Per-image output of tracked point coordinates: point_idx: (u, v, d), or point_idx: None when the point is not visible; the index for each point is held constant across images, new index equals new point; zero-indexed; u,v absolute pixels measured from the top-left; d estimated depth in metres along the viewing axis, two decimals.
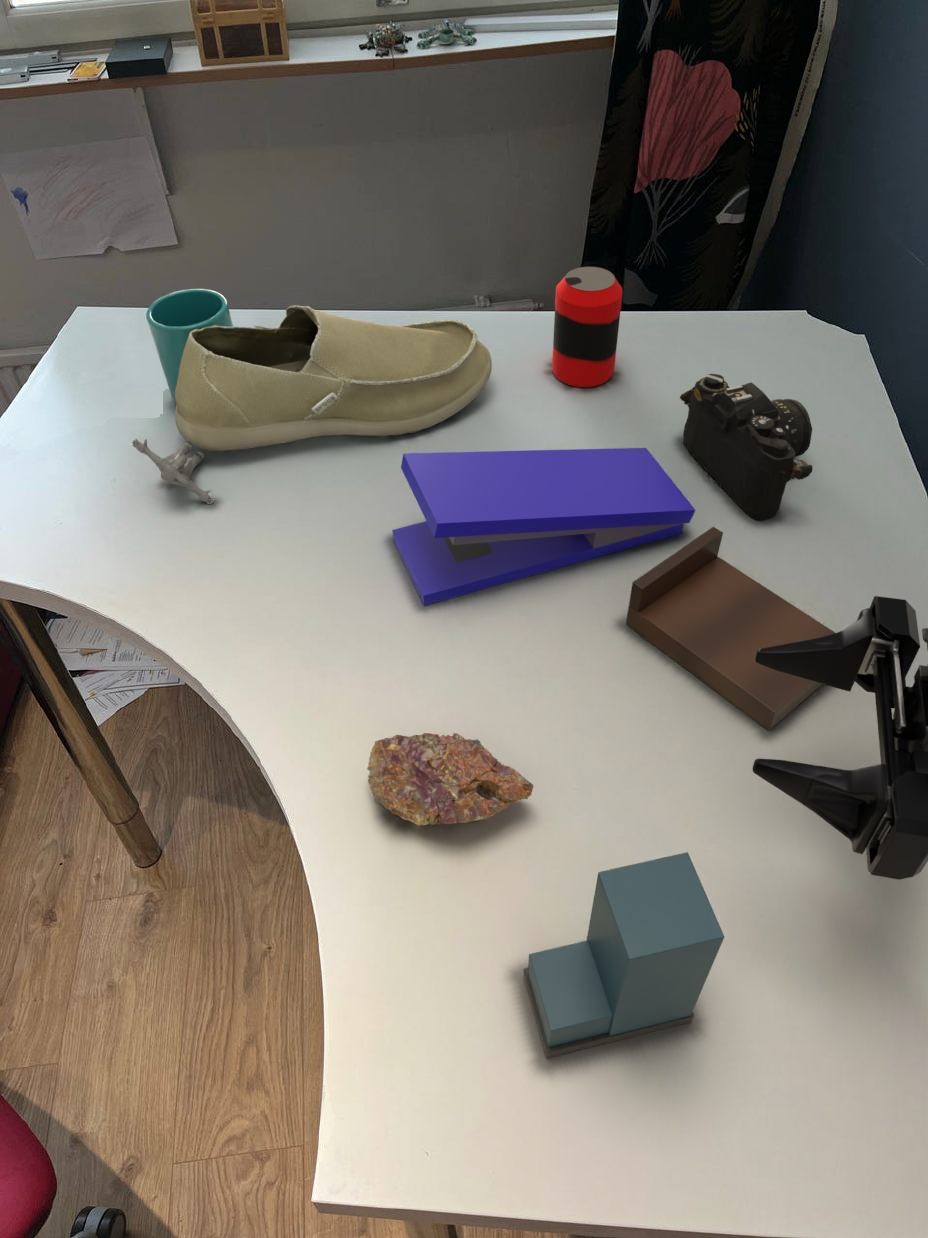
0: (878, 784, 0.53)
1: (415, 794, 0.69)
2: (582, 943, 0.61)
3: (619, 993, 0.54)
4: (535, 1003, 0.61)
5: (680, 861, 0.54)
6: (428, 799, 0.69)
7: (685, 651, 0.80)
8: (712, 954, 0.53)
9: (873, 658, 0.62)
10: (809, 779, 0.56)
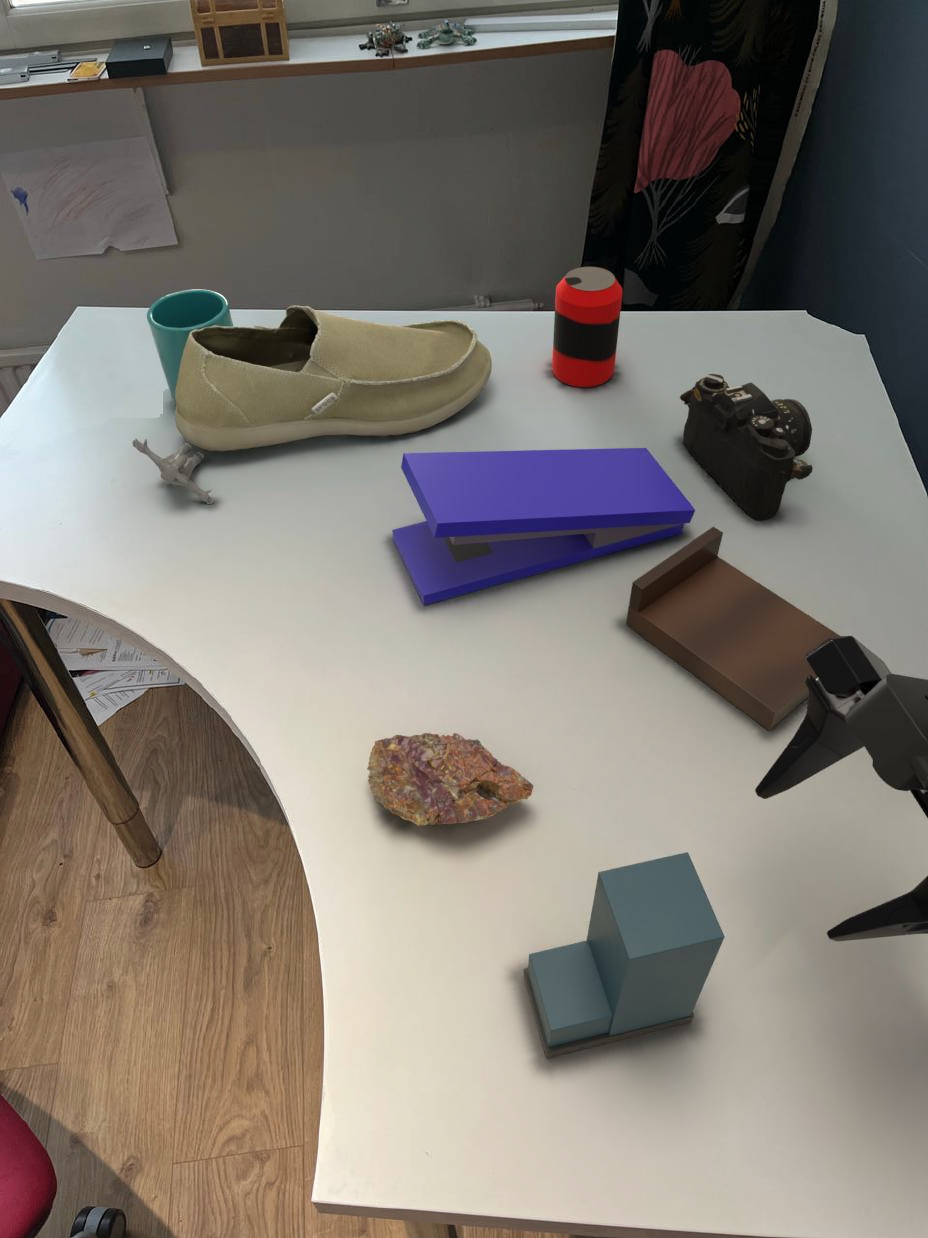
0: None
1: (415, 794, 0.69)
2: (582, 942, 0.61)
3: (619, 993, 0.54)
4: (535, 1003, 0.61)
5: (680, 861, 0.54)
6: (428, 799, 0.69)
7: (685, 651, 0.80)
8: (712, 954, 0.53)
9: None
10: (884, 926, 0.48)
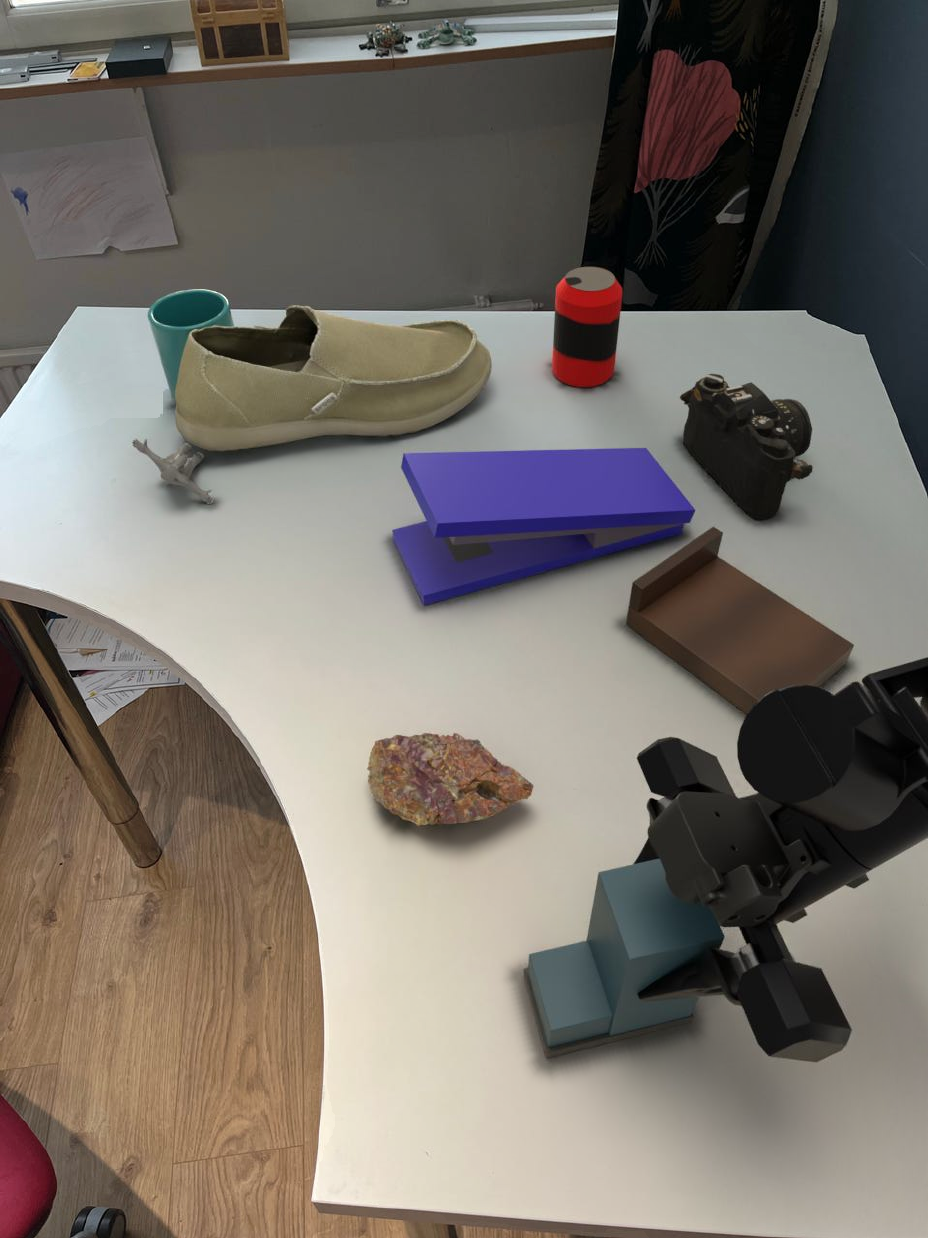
0: (716, 975, 0.49)
1: (415, 794, 0.69)
2: (582, 943, 0.61)
3: (619, 993, 0.54)
4: (535, 1003, 0.61)
5: None
6: (428, 799, 0.69)
7: (685, 651, 0.80)
8: None
9: None
10: (680, 990, 0.52)
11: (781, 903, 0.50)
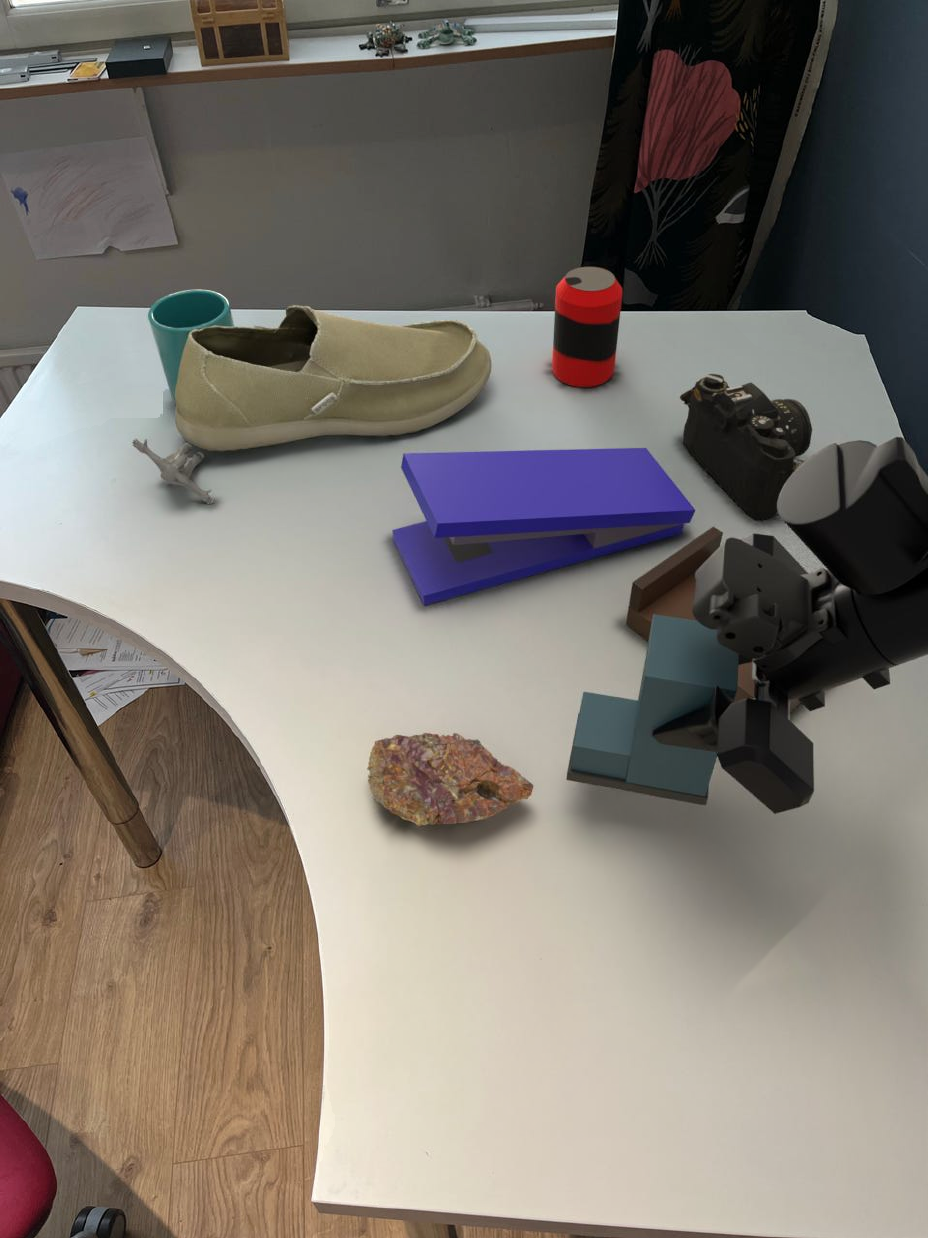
0: (712, 706, 0.55)
1: (415, 794, 0.69)
2: (632, 700, 0.67)
3: (636, 723, 0.61)
4: None
5: None
6: (428, 799, 0.69)
7: None
8: None
9: None
10: (684, 728, 0.58)
11: (794, 669, 0.54)
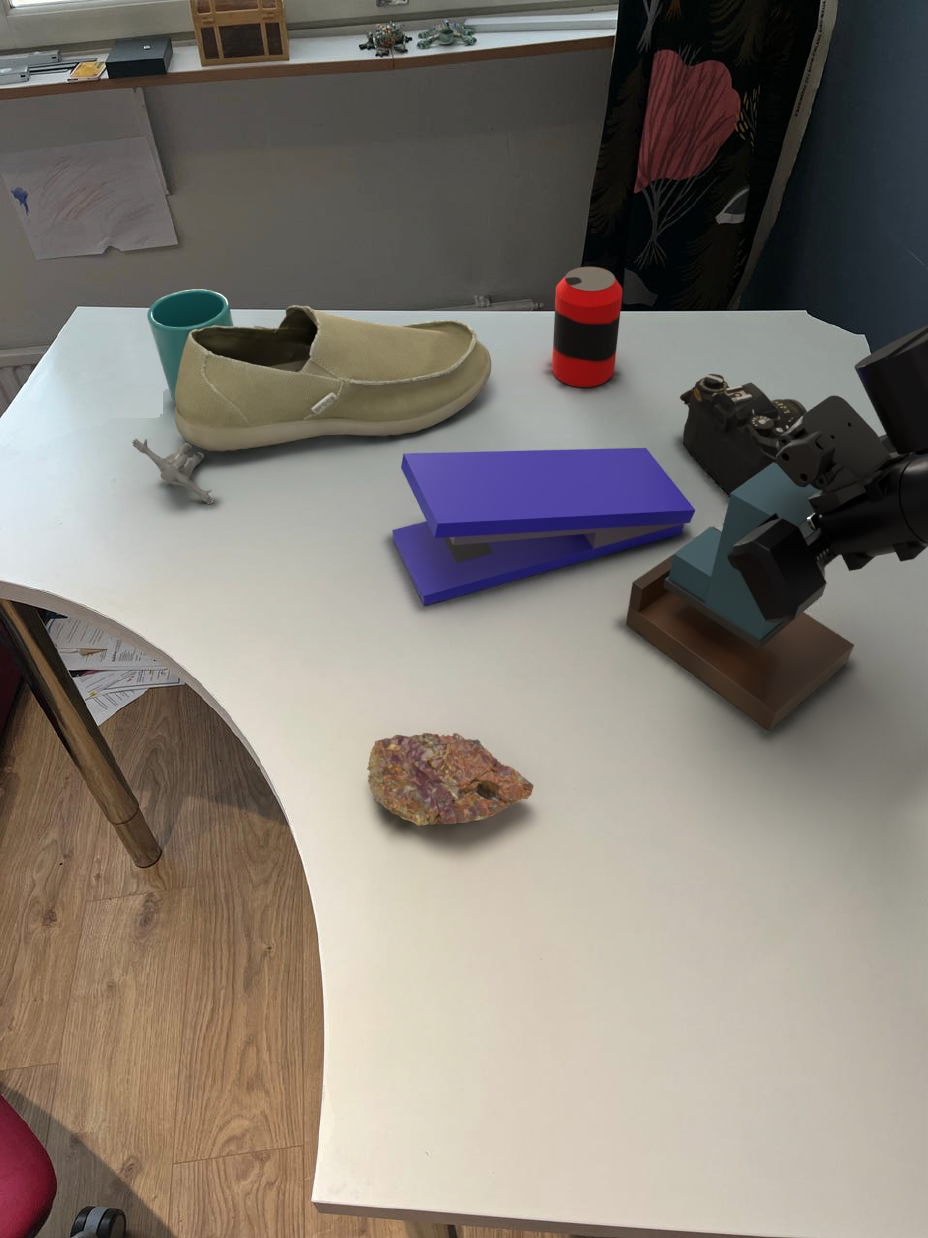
0: None
1: (415, 794, 0.69)
2: None
3: None
4: None
5: None
6: (428, 799, 0.69)
7: (685, 651, 0.80)
8: None
9: None
10: None
11: (839, 519, 0.63)
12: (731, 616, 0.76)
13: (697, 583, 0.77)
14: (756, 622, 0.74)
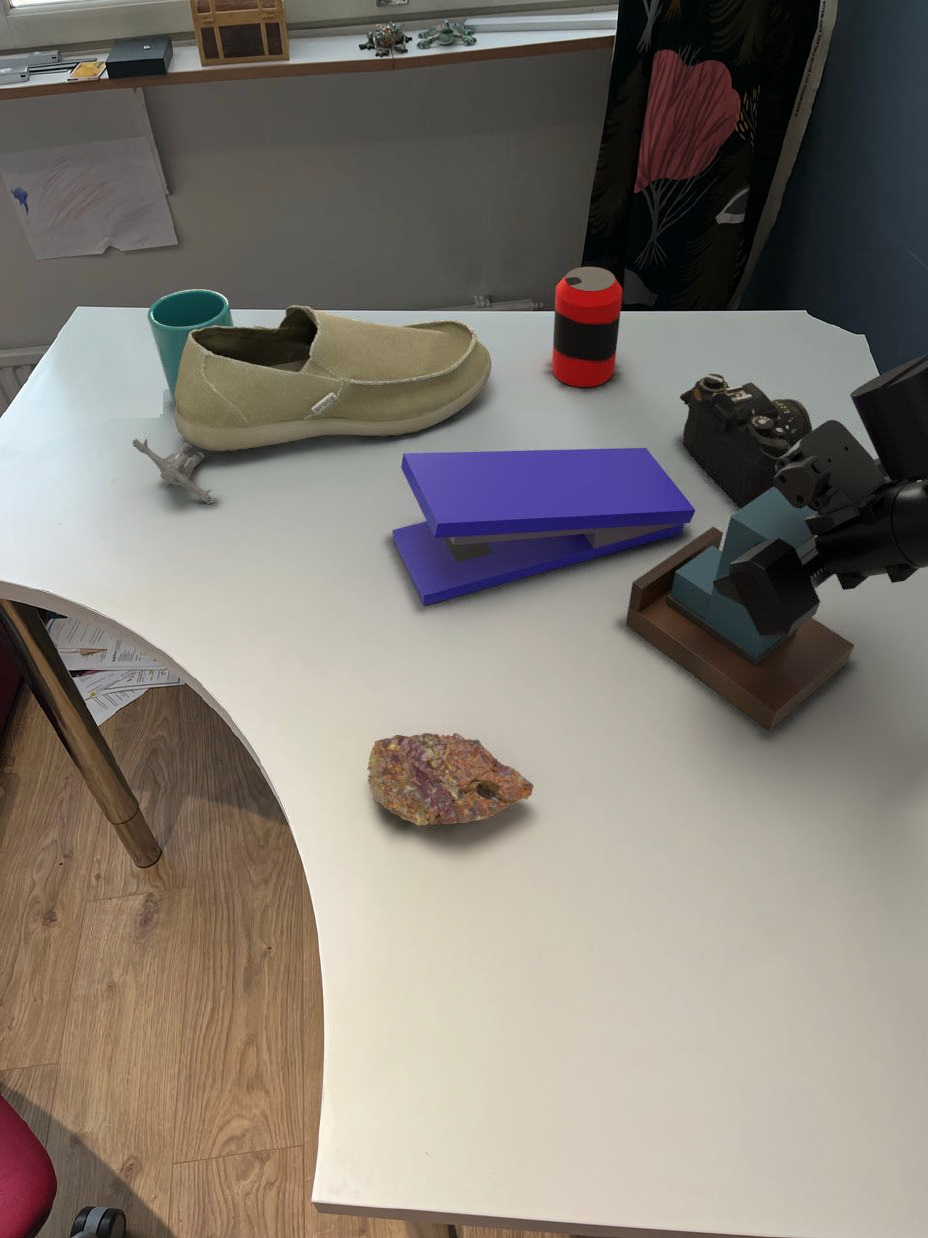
0: None
1: (415, 794, 0.69)
2: None
3: (719, 562, 0.75)
4: None
5: None
6: (428, 799, 0.69)
7: (685, 651, 0.80)
8: None
9: None
10: (729, 576, 0.70)
11: (834, 539, 0.65)
12: (730, 634, 0.78)
13: (698, 601, 0.80)
14: (754, 640, 0.76)
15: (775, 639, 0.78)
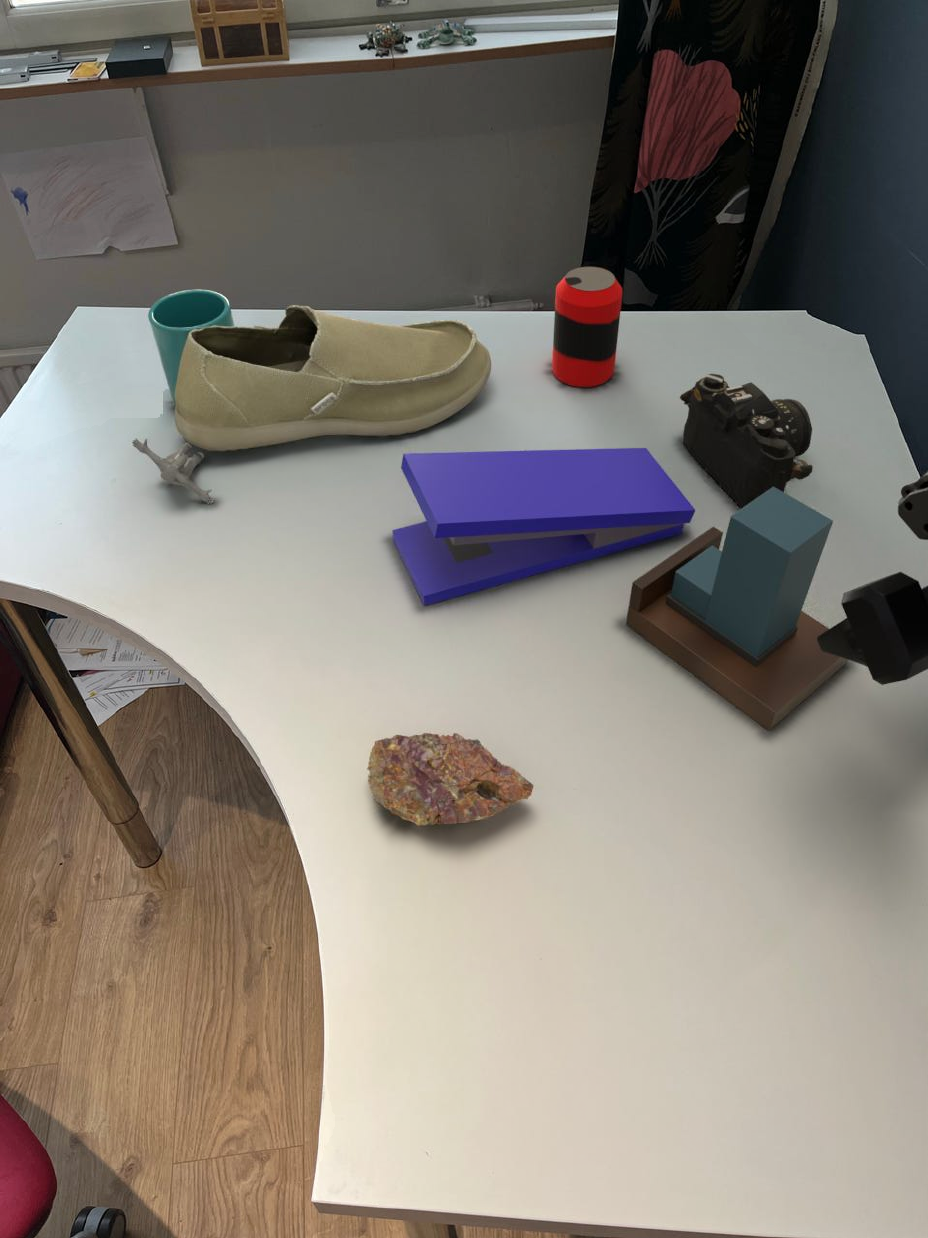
0: None
1: (415, 794, 0.69)
2: None
3: (719, 562, 0.75)
4: None
5: (822, 519, 0.71)
6: (428, 799, 0.69)
7: (685, 651, 0.80)
8: (780, 571, 0.70)
9: None
10: (838, 625, 0.63)
11: None
12: (730, 634, 0.78)
13: (698, 601, 0.80)
14: (754, 640, 0.76)
15: (775, 639, 0.78)
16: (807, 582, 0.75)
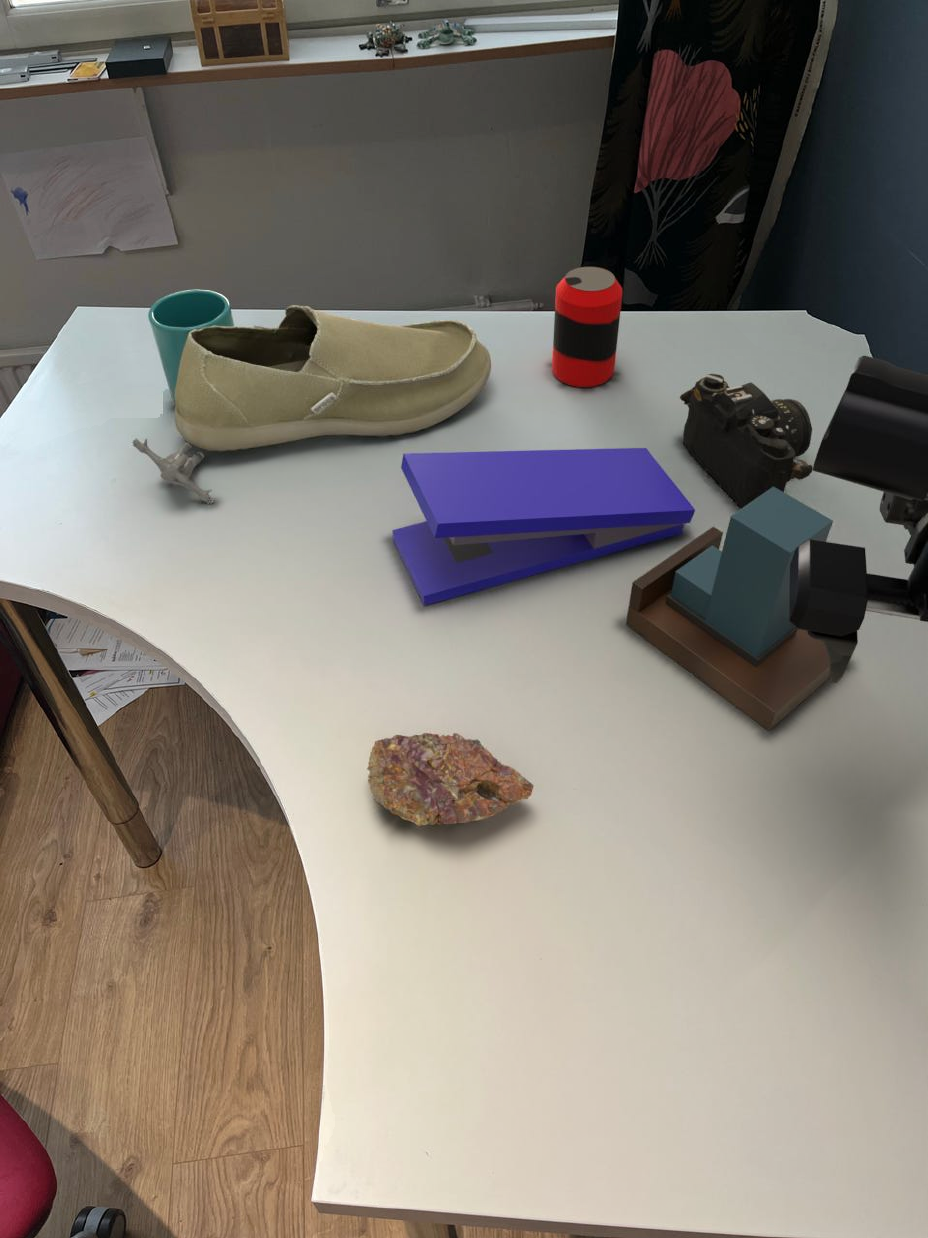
0: None
1: (415, 794, 0.69)
2: None
3: (719, 562, 0.75)
4: None
5: (822, 519, 0.71)
6: (428, 799, 0.69)
7: (685, 651, 0.80)
8: (780, 571, 0.70)
9: None
10: None
11: None
12: (730, 634, 0.78)
13: (698, 601, 0.80)
14: (754, 640, 0.76)
15: (775, 639, 0.78)
16: None
